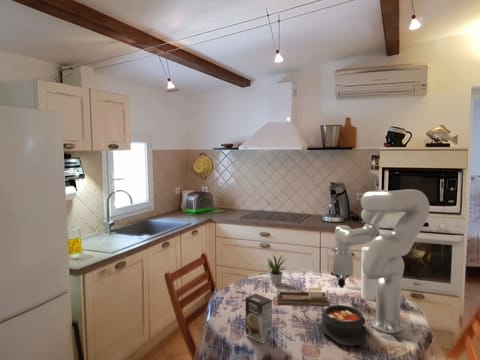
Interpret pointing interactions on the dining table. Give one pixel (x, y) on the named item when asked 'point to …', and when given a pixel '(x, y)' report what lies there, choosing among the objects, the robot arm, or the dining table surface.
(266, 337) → the coffee box
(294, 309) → the dining table surface
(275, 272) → the house plant
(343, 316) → the casserole
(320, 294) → the block
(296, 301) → the chute
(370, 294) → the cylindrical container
